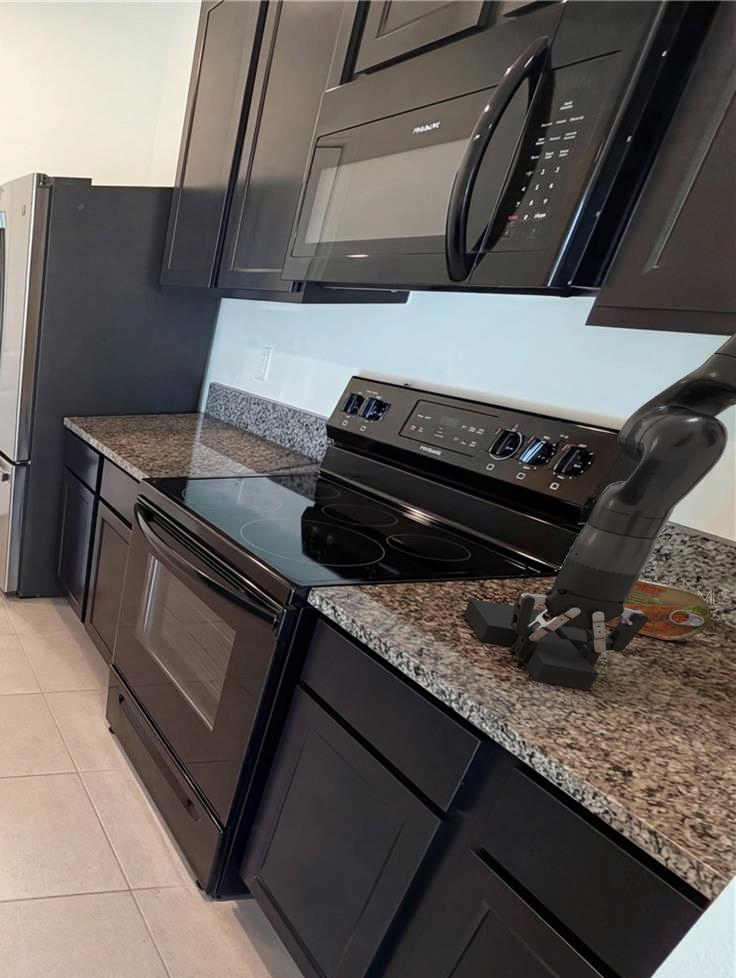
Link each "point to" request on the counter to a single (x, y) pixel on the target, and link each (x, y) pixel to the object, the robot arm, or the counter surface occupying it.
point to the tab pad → (559, 663)
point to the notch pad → (509, 624)
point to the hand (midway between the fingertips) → (550, 664)
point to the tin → (667, 610)
